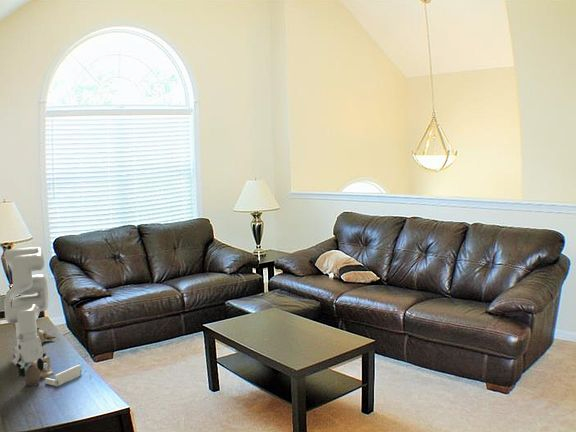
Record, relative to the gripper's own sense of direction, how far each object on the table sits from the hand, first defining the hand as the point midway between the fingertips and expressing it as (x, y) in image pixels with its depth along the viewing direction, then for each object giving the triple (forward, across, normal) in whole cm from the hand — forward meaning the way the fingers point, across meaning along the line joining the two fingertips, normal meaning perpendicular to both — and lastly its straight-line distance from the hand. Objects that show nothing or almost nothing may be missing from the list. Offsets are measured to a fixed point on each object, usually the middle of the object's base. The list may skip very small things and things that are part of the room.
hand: (31, 372), depth 259 cm
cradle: (+6, +10, -8) cm, 14 cm away
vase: (+6, 0, 0) cm, 6 cm away
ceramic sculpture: (+5, +43, +49) cm, 66 cm away
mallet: (+4, +10, +10) cm, 15 cm away
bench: (+6, +10, +9) cm, 15 cm away
